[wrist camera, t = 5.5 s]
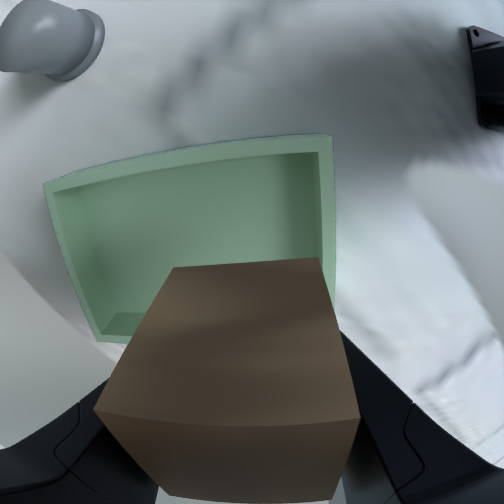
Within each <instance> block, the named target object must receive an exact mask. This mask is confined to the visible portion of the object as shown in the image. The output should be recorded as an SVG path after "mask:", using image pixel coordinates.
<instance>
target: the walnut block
mask: <svg viewBox="0 0 504 504" xmlns="http://www.w3.org/2000/svg"><path fill="white" fill-rule="evenodd" d="M93 410H94V411H95V413H96V414H97V415H98V417H99V418H100V419H101V421H102V422H103V423H104V425H105V426H106V427H107V428H108V430H109V431H110V432H111V433H112V435H113V436H114V437H115V438H116V440H117V441H118V442H119V443H120V444H121V446H122V447H123V448H124V449H125V450H126V451H127V452H128V454H129V455H130V456H131V457H132V458H133V459H134V460H135V461H136V462H137V464H138V465H139V466H140V467H141V468H142V469H143V470H144V471H145V472H146V473H147V474H148V475H149V476H150V477H151V478H152V479H153V480H154V481H155V482H156V483H157V484H158V485H159V486H160V487H161V488H162V489H163V490H164V491H165V492H166V493H167V494H169V495H170V496H176V497H183V498H190V499H197V500H206V501H216V502H228V503H229V502H230V503H248V504H282V503H301V502H315V501H324V500H332V498H333V496H334V493H335V491H336V489H337V486H338V483H339V481H340V478H341V476H342V473H343V470H344V467H345V465H346V462H347V459H348V456H349V453H350V450H351V447H352V444H353V441H354V438H355V435H356V431H357V428H358V425H359V421H360V413H359V408H358V404H357V399H356V395H355V391H354V386H353V382H352V378H351V374H350V370H349V365H348V361H347V357H346V354H345V350H344V346H343V342H342V338H341V334H340V331H339V327H338V323H337V319H336V316H335V312H334V309H333V305H332V302H331V298H330V295H329V291H328V288H327V284H326V281H325V278H324V274H323V271H322V268H321V264H320V261H319V258H318V257H312V258H299V259H286V260H272V261H258V262H244V263H230V264H215V265H201V266H186V267H173V269H172V271H171V272H170V274H169V275H168V277H167V279H166V280H165V282H164V284H163V285H162V287H161V289H160V290H159V292H158V294H157V295H156V297H155V299H154V300H153V302H152V304H151V305H150V307H149V309H148V310H147V312H146V314H145V315H144V317H143V319H142V321H141V322H140V324H139V326H138V327H137V329H136V331H135V333H134V334H133V336H132V338H131V340H130V342H129V343H128V345H127V347H126V349H125V350H124V352H123V354H122V356H121V358H120V360H119V361H118V363H117V365H116V367H115V369H114V371H113V372H112V374H111V376H110V378H109V380H108V382H107V384H106V386H105V387H104V389H103V391H102V393H101V395H100V397H99V399H98V401H97V403H96V405H95V407H94V409H93Z"/></svg>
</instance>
